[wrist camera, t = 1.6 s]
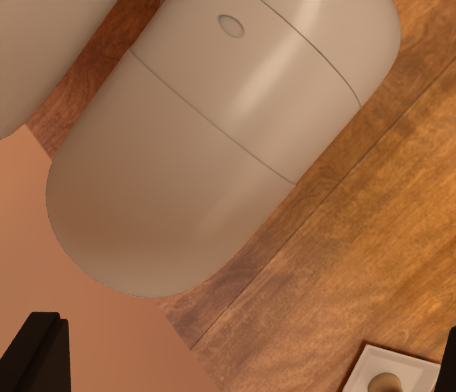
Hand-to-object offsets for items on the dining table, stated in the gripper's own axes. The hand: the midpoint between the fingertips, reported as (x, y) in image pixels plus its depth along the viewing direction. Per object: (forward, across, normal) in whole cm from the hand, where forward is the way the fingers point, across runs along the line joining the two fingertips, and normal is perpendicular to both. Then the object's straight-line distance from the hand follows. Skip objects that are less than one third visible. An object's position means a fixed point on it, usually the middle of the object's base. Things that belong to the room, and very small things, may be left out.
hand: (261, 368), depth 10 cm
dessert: (+38, -26, +34) cm, 57 cm away
